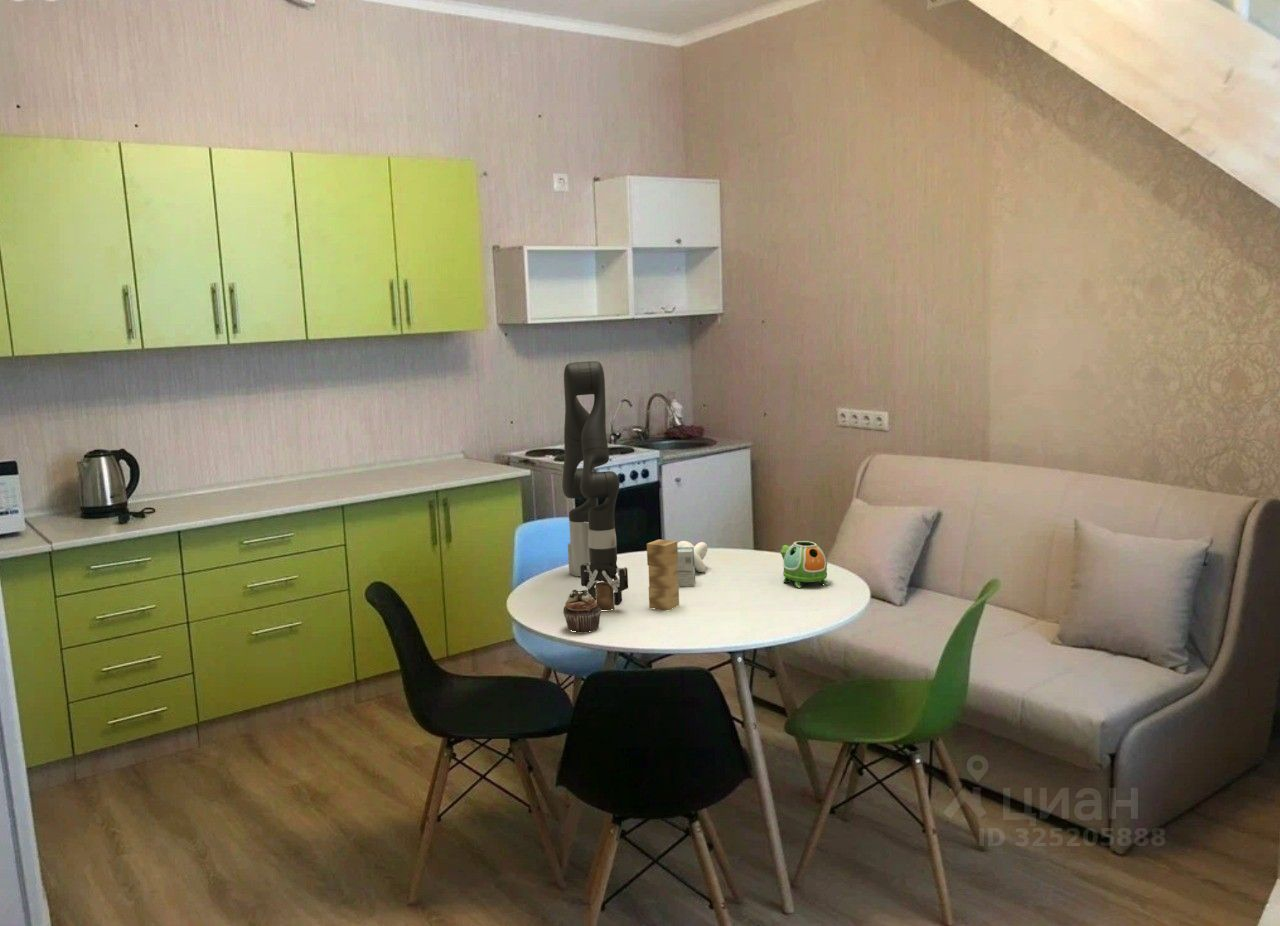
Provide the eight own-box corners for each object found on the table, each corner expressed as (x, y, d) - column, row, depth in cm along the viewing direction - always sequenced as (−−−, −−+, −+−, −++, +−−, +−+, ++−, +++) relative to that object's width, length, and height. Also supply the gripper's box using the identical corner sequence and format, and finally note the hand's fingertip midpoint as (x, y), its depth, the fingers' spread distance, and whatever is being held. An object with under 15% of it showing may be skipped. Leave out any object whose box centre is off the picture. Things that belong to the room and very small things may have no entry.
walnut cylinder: (593, 610, 280) (592, 585, 279) (602, 605, 284) (601, 580, 283) (608, 612, 278) (607, 587, 277) (617, 607, 282) (616, 582, 281)
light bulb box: (695, 581, 306) (694, 545, 305) (694, 587, 300) (693, 551, 298) (659, 581, 308) (658, 546, 306) (658, 587, 301) (656, 551, 299)
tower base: (649, 608, 280) (648, 587, 279) (660, 602, 285) (659, 581, 284) (668, 611, 277) (667, 589, 276) (679, 605, 282) (678, 583, 281)
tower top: (647, 565, 278) (646, 543, 278) (659, 560, 283) (658, 539, 282) (666, 567, 275) (665, 545, 274) (678, 562, 280) (677, 541, 279)
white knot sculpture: (667, 575, 314) (666, 547, 313) (674, 566, 325) (673, 538, 324) (703, 576, 311) (702, 547, 310) (709, 566, 323) (708, 538, 322)
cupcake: (602, 633, 260) (600, 594, 259) (564, 635, 259) (562, 596, 258) (601, 621, 270) (599, 584, 268) (564, 624, 269) (562, 587, 267)
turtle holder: (802, 572, 312) (801, 533, 310) (836, 585, 295) (836, 545, 294) (767, 577, 307) (766, 538, 305) (799, 591, 291) (798, 550, 289)
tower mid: (649, 587, 278) (648, 566, 278) (657, 582, 284) (656, 560, 283) (669, 589, 276) (669, 567, 275) (677, 583, 282) (677, 562, 281)
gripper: (573, 545, 279) (575, 604, 281) (617, 549, 272) (620, 609, 274) (588, 539, 285) (590, 597, 288) (632, 543, 278) (634, 602, 280)
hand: (605, 603), depth 281 cm, fingers open, 7 cm apart
